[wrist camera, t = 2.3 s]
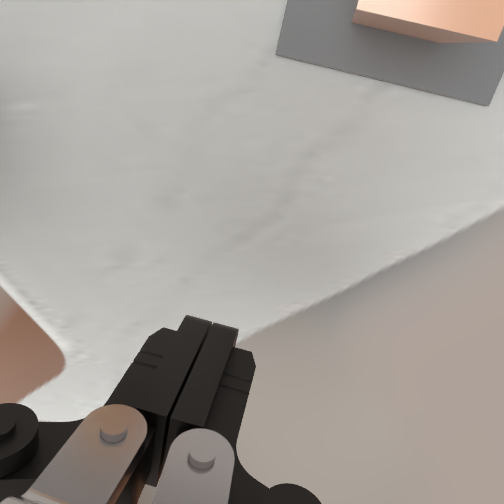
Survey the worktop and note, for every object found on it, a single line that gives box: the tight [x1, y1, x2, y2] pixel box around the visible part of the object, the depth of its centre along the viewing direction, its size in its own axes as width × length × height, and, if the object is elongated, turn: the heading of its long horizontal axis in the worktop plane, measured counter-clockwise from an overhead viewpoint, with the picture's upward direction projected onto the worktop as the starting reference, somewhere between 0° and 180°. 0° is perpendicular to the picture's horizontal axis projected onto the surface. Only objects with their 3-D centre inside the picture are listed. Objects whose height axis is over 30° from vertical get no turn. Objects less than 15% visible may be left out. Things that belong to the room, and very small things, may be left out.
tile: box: [351, 0, 504, 43], centre depth 24 cm, size 6×2×12 cm, turn 78°
